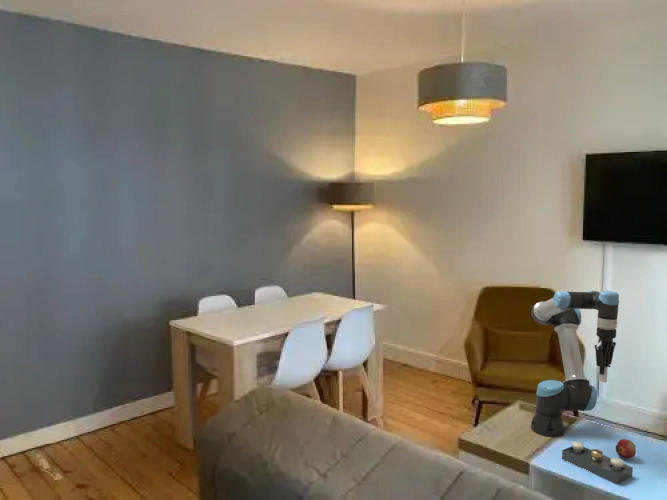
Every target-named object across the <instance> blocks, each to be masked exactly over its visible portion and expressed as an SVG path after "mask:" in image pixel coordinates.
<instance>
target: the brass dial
mask: <svg viewBox="0 0 667 500" xmlns="http://www.w3.org/2000/svg"><path fill="white" fill-rule="evenodd" d="M590 450H591V459H593V460H595V461H602V459H603V455H604V451H603V450H601V449H597V448H593V449H590Z"/></svg>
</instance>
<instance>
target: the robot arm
mask: <svg viewBox="0 0 667 500" xmlns="http://www.w3.org/2000/svg"><path fill="white" fill-rule="evenodd" d="M619 296H620V294H619V293H618V292H616V291H611V290H610V291H609V290H601V291H598V290H597V291H596V290H590V291H565V290H563V291H556V292H555V293H554V295H553V297H551V298H550V299H548V300H545V301H539V302H537V303H535V304H533V306H532V307H531V311H530V313H531V317H532V319H533V320H534V321H535V322H536V323H538V324H540V325H544V326H552V327H553V330H554V331H555V332H556V333H557V337H558V342H559V348H560V352H561V358H562V359H561V360H562V364H563V371H564V374H565V375H564V376H565V379H564V381H559V380H554V379H547V380H543V381H540V383H538V384H537V389H536V401H535V402H536V403H535V413H534V416H533V418H532V420H531V423H530V429H531V430H532V431H533V432H534V433H536V434H538V435H541V436H546V437H550V438H551V437H552V438H553V437H554V438H558V437H563V436H564V435H565V434H564V433H566V432H565V431H566V427H565V424H564V420H563V411H578V412H579V411H582V412H584V411H586V412H587V411H592V410H593V409H594V408H595V407H596V405H597V402H598V392H597V389H596V387H595V386H594V385H591V383H590V380H589V379H587V378H586V377H585V371H584V364H583V361H582V356H581V351H580V345H579V344H580V343H579V340H578V335H577V330H578V329H579V328H580V327H579V326H580V325H581V324H582V313H581V310H597V323H596V326H597V328H596V333H595V334H596V336H597V337H598V341H597V343H598V344H594V350H595V362H596V363H595V364H596V366H597V367H599V369H598V370H599V373H598V381H599V382H602V383H604V384H605V383H607V380H608V370H609V369H608V368H611V366H612V361H613V357H614V352H615V348H616V345H617V342H614V339H615V338H617V326H618V316H619V315H618V314H619V304H620V299H619Z"/></svg>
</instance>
